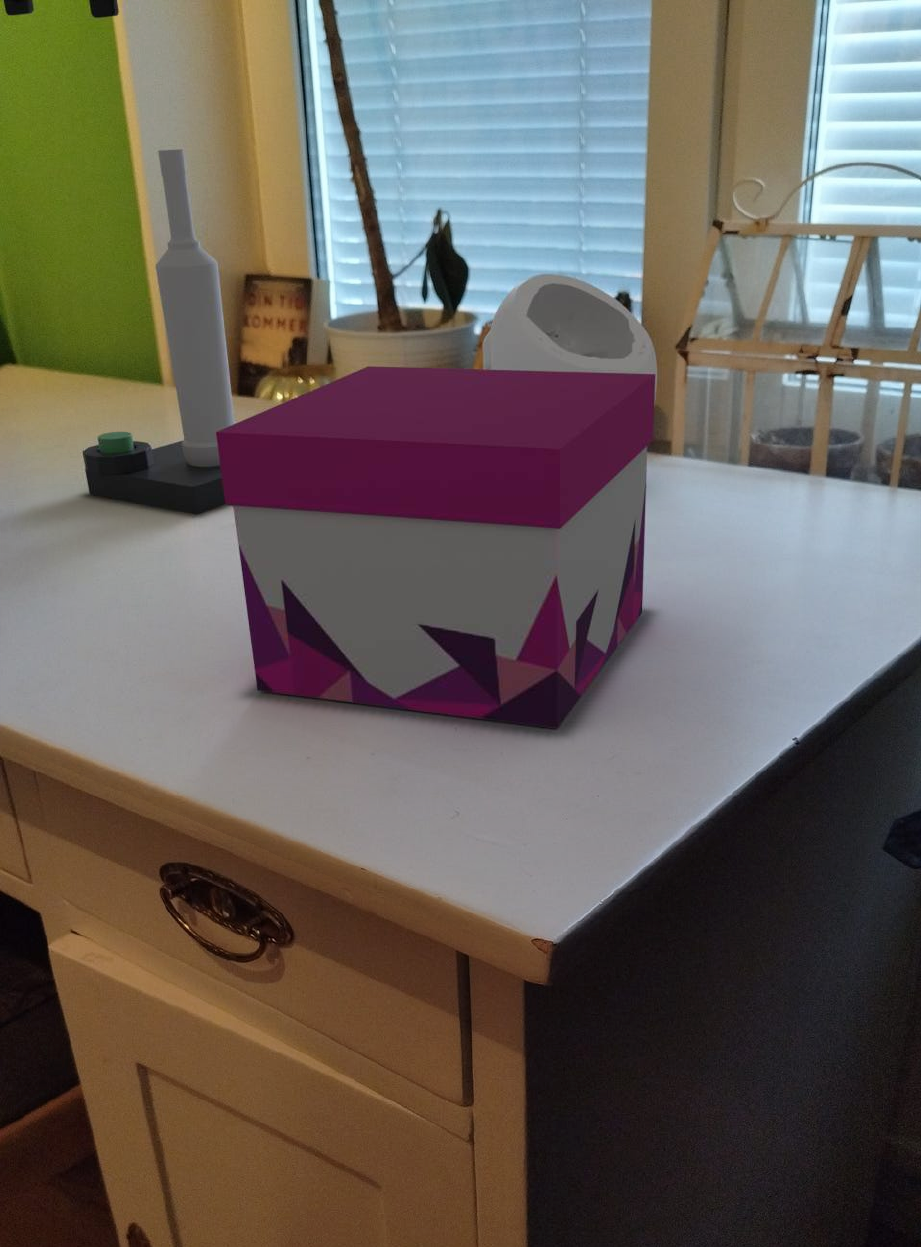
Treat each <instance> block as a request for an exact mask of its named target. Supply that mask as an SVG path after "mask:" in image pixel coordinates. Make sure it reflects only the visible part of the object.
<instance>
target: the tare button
mask: <svg viewBox="0 0 921 1247" xmlns="http://www.w3.org/2000/svg"><path fill="white" fill-rule="evenodd" d="M133 441H134V440H133V435H132V433H131V432H129V431H111V432H106V433H102V434H99V435H98V436H97V443H98V445H99V449H100V453H103V454H112V453H122V452H128V451H131V450H134V445H133Z"/></svg>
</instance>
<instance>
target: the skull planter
mask: <svg viewBox="0 0 921 1247" xmlns="http://www.w3.org/2000/svg"><path fill="white" fill-rule="evenodd" d="M556 335H557V337H556ZM651 338H652V337H651V336H650V334H649V333H648V331H647V330H646V329H645V328H644V326H643V325H642V323H641V322H640V321H639V320H638V319H637V318H636V317H635V315H634V314H633V313H631V312H630V310H629V309H628V308H627V307H626V306H625V305H623V303H621V302H620V301H619V300H618V299H616V298H614V297H613V296H611V295H610V294H608V293H607V292H605V291H603V290H601V289H600V288H599V287H596V286H594V285H593V284H592V283H591V284H590V283H588V282H586V281H584V280H581V279H579V278H575V277H572V276H566V275H561V274H555V273H541V274H537V275H533V276H531V277H529V278H527V279H525V280H523V281H522V282H520V283H519V284H517V285H516V286H514V287H513V288H512V289H511V290H510V291H509V292H508V293H507V295H506V296H505V297H504V298H503V300H502V301H501V303H500V305H499V306H498V307H497V310H496V311H495V313H494V316H493V319H492V322H491V327H490V328H489V332H488V333H487V334H486V335H485V337H484V339H483V341H482V347H481V350H482V366H483V368H482V369H483V370H520V371H557V372H594V373H630V374H655V399H656V397H657V388H658V362H657V355H656V350H655V346H654V344H653V341H652V339H651ZM569 343H571V344H569ZM568 344H569V345H568ZM655 405H656V400H655V401H654V406H655Z"/></svg>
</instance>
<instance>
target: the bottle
mask: <svg viewBox="0 0 921 1247" xmlns="http://www.w3.org/2000/svg"><path fill="white" fill-rule="evenodd" d="M157 153H158V159H159V166H160V173H161V177H162V182H163V183H162V184H163V190H164V197H165V204H166V211H167V220H168V226H169V234H170V240H169V241H168V242H167V250H166V251H165V253H163V255H162V256H161V257H160V258H159V259H158V262H157V263H156V264H155V270H156V277H157V283H158V290H159V295H160V301H161V307H162V313H163V319H164V325H165V326H164V327H165V331H166V336H167V337H166V338H167V344H168V350H169V355H170V361H171V368H172V374H173V380H174V385H175V392H176V397H177V398H176V399H177V402H178V410H179V415H180V420H181V427H182V434H183V440H182V441H183V442H182V447H183V452H184V456H185V459H186V461H187V463H188V464H189V465H192V466H197V467H214V466H220V459H219V452H218V445H217V437H216V432H217V431H220V430H222V429H224V428H227V427H229V426H231V425H234V424H236V423H235V414H234V403H233V396H232V387H231V386H232V385H231V376H230V375H231V374H230V367H229V356H228V349H227V340H226V339H227V338H226V330H225V322H224V320H225V318H224V311H223V300H222V292H221V282H220V274H219V273H220V272H219V265H218V261H217V260H216V259H215V257H213V256H212V255H210V254H209V253H208V252H207V251H206V250H205V249H204V248H203V247H202V246H201V241H200V240H198V239H197V238H196V234H195V229H194V220H193V214H192V206H191V199H190V191H189V185H188V172H187V164H186V157H185V149H184V148H182V149H181V148H180V149H177V148H176V149H163V150H162V149H160V150H157Z"/></svg>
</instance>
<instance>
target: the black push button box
mask: <svg viewBox="0 0 921 1247" xmlns="http://www.w3.org/2000/svg"><path fill="white" fill-rule="evenodd" d="M182 442H183V440H179V441H176V442H173V443H170V444H166V445H162V446H158V447H154V448H152V446H151V445H150V444H149V442H144V441H139V440H133V445H134V450H131V451H128V452H122V453H112V454H103V453H100V449H99V444H96V445H92V446H89V447H87V448H86V449H83V451H82V457H83V463H84V471H85V476H86V482H87V487H88V492H89V495H91V496H96V497H100V498H106V499H112V500H116V501H122V502H127V503H133V504H139V505H143V506H150V507H154V508H160V509H166V510H171V511H176V512H180V513H181V512H182V513H186V514H187V513H188V514H193V515H199V514H201V513H205V512H207V511H210V510H214V509H216V508H219V507H221V506H226V504H225V497H224V489H223V482H222V474H221V467H220V466H214V467H197V466H192V465H189V464H188V463H187V461H186V459H185V456H184V452H183V447H182Z"/></svg>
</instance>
